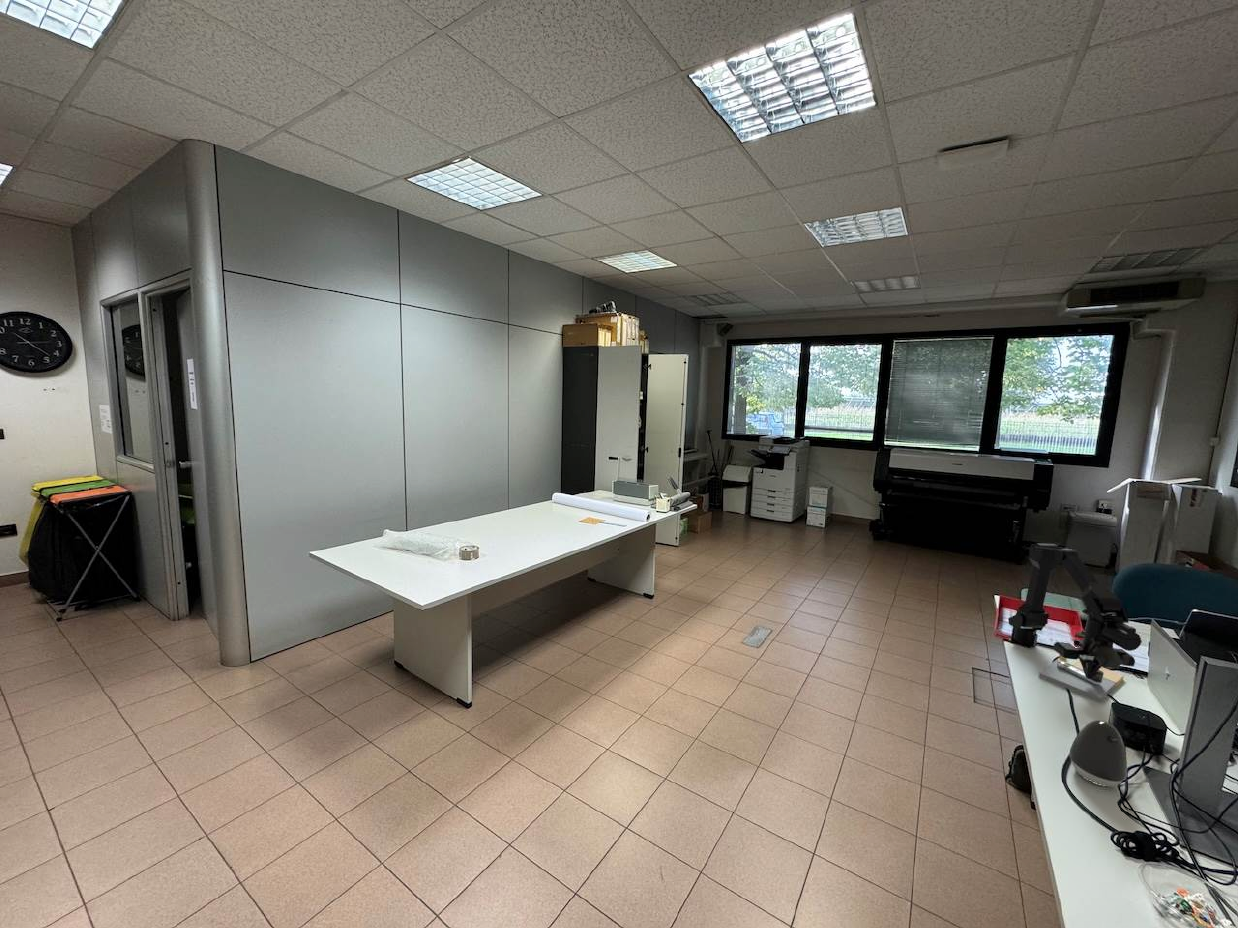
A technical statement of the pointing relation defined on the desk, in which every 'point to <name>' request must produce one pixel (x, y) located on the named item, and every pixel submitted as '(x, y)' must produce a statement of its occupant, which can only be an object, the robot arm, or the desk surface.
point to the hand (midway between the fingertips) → (1087, 677)
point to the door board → (1081, 679)
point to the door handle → (1094, 679)
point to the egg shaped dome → (1099, 754)
